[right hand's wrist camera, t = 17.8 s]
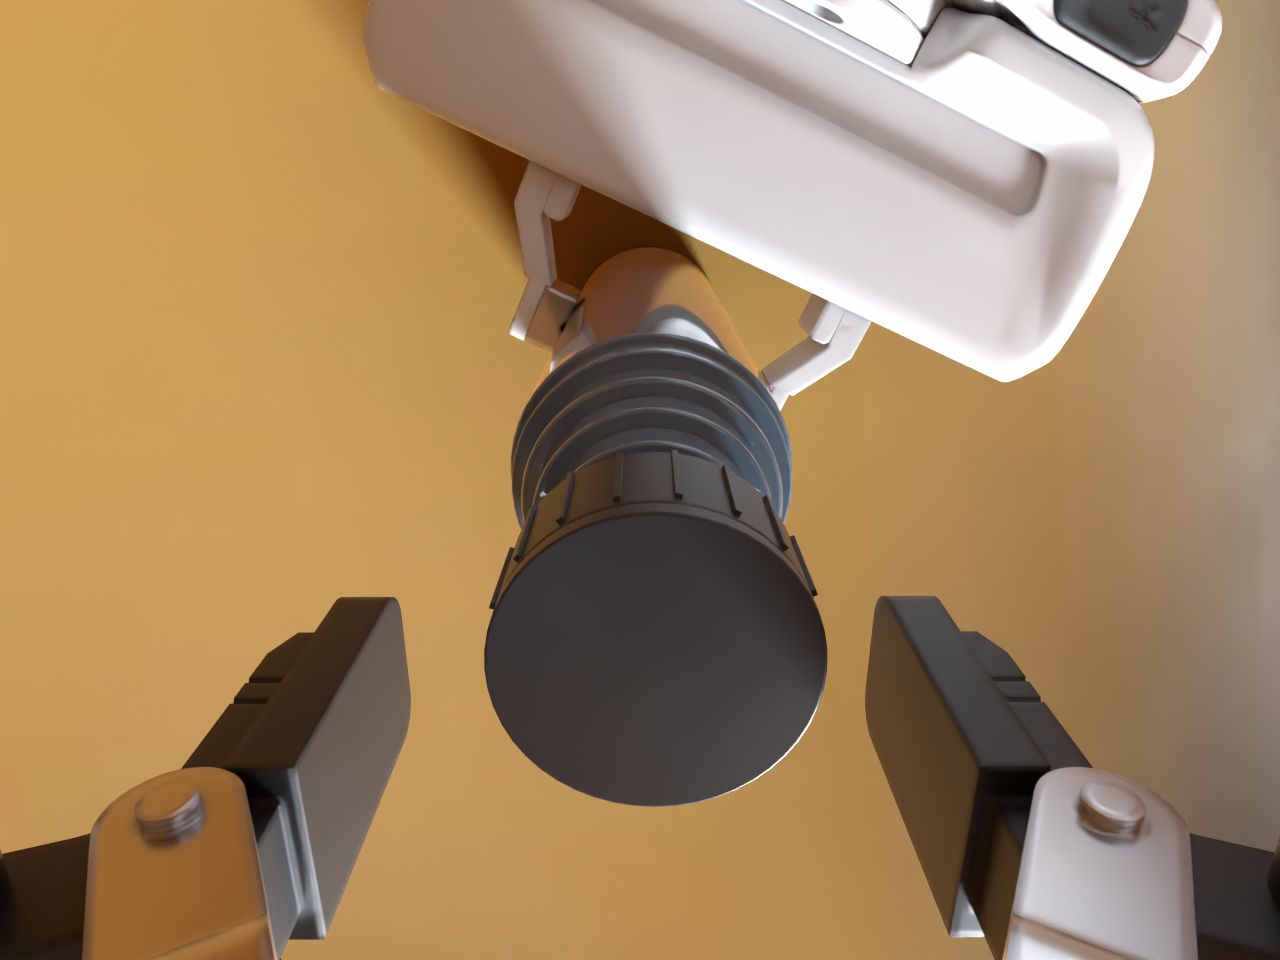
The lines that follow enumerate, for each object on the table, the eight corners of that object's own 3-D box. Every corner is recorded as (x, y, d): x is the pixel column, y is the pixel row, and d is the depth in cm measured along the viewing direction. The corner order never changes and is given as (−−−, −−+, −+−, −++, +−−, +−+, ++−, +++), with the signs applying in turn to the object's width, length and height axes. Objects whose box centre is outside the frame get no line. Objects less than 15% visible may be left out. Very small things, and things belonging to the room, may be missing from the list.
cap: (498, 692, 12) (470, 794, 10) (519, 427, 11) (492, 485, 9) (770, 723, 12) (794, 827, 10) (826, 465, 11) (866, 530, 9)
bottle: (573, 248, 30) (411, 441, 9) (720, 245, 30) (896, 434, 9) (579, 391, 32) (454, 825, 11) (718, 389, 32) (858, 821, 11)
